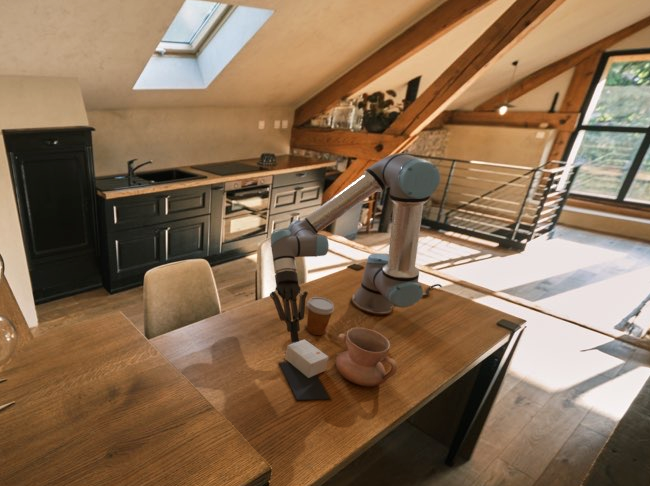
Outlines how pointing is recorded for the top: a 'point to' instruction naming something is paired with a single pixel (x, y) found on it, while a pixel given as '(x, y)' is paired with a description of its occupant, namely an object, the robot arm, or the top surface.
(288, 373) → the mat
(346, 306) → the top surface
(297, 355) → the small box
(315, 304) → the disposable coffee cup
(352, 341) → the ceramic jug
